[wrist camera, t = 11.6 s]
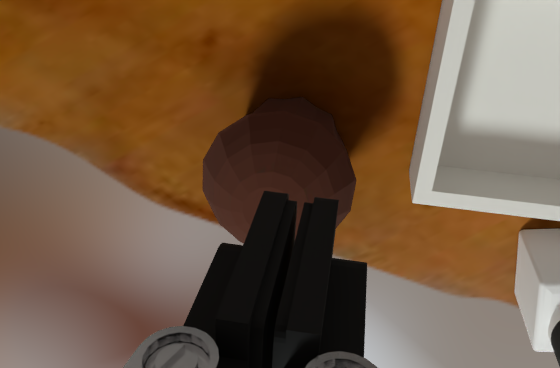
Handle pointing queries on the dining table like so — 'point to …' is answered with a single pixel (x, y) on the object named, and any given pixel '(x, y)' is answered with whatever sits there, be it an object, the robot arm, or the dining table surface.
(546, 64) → the case
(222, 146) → the muffin
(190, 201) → the dining table surface
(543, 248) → the medicine bottle
